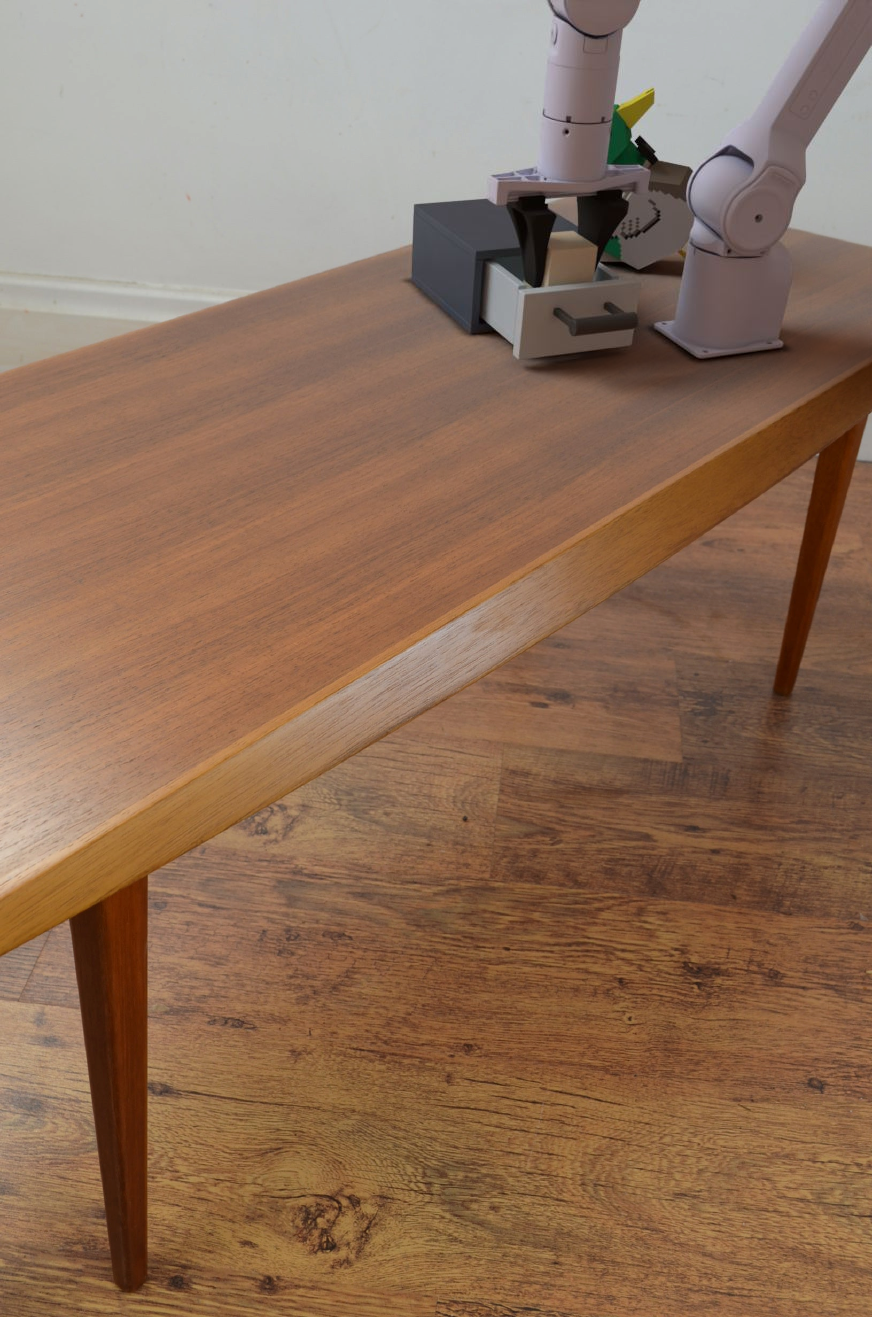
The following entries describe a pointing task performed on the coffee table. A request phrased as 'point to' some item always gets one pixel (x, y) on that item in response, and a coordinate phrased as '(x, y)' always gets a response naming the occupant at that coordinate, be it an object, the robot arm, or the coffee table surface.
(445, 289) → the cabinet
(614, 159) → the toy
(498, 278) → the drawer
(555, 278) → the block
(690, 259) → the robot arm
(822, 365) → the coffee table surface
